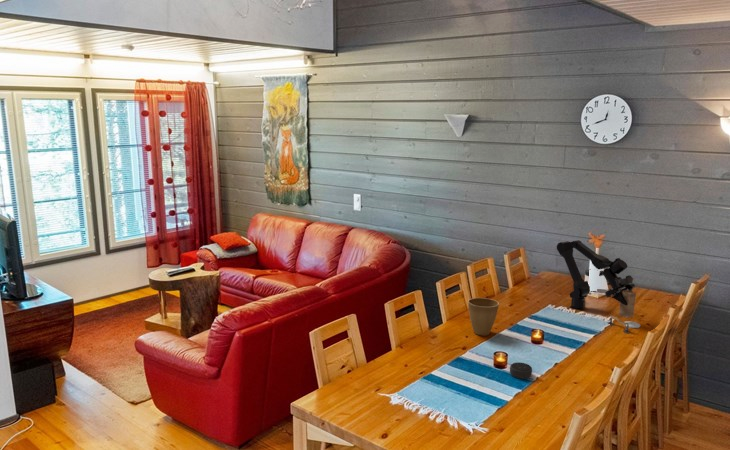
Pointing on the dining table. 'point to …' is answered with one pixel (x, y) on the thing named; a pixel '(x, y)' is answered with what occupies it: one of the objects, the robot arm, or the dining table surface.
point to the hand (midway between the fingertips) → (629, 304)
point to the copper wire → (619, 322)
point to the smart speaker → (521, 370)
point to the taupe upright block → (629, 308)
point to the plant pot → (482, 314)
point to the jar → (586, 275)
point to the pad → (632, 324)
